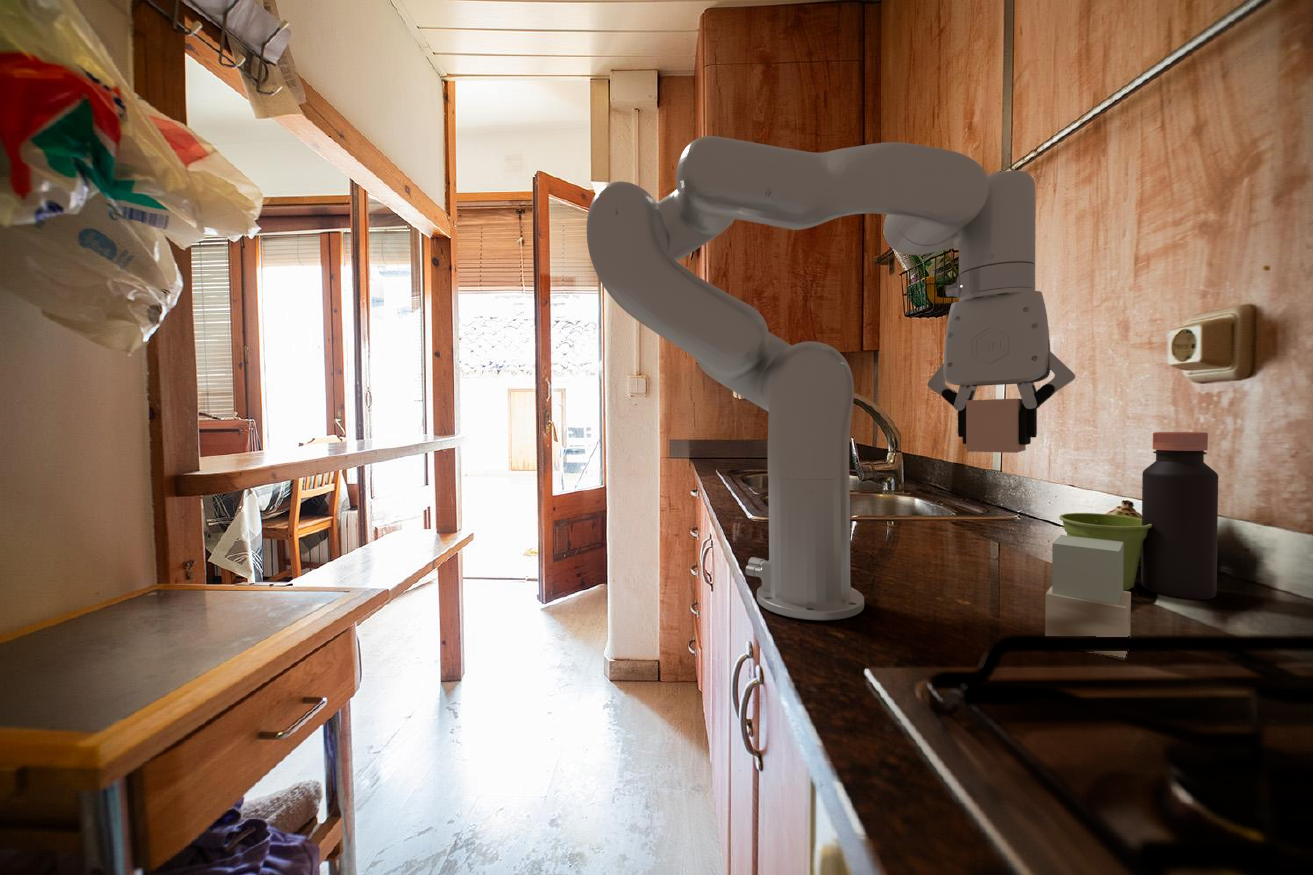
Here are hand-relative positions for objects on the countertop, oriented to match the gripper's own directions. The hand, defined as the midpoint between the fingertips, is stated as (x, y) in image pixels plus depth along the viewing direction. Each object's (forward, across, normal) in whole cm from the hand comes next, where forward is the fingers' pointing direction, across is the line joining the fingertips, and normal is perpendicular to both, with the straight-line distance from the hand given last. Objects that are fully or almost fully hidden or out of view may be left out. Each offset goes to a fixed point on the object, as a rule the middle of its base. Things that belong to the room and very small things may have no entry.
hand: (996, 442), depth 63 cm
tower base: (+20, +9, -6) cm, 22 cm away
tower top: (+15, +9, -6) cm, 18 cm away
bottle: (+20, +16, +20) cm, 32 cm away
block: (+1, 0, 0) cm, 1 cm away
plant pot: (+20, +9, +18) cm, 28 cm away
